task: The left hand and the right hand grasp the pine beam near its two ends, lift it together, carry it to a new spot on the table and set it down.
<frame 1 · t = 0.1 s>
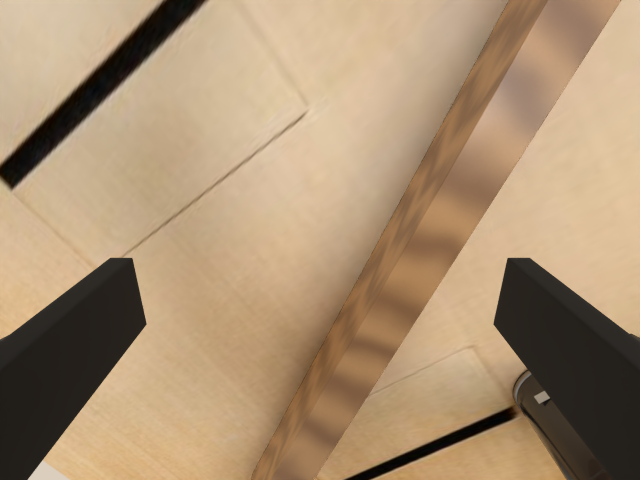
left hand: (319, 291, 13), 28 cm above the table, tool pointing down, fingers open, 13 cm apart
beam: (386, 268, 43), on the table
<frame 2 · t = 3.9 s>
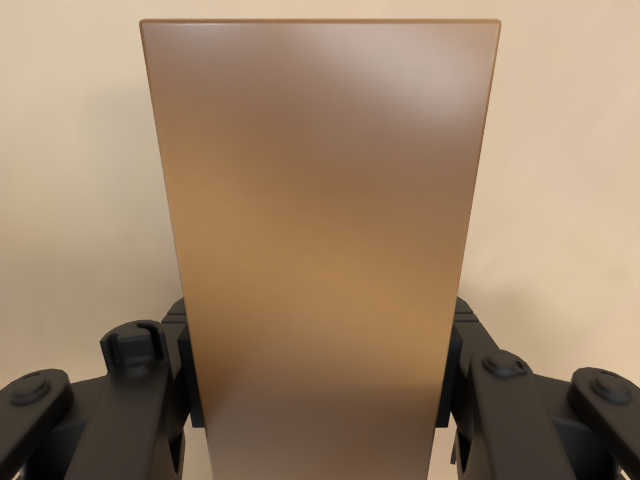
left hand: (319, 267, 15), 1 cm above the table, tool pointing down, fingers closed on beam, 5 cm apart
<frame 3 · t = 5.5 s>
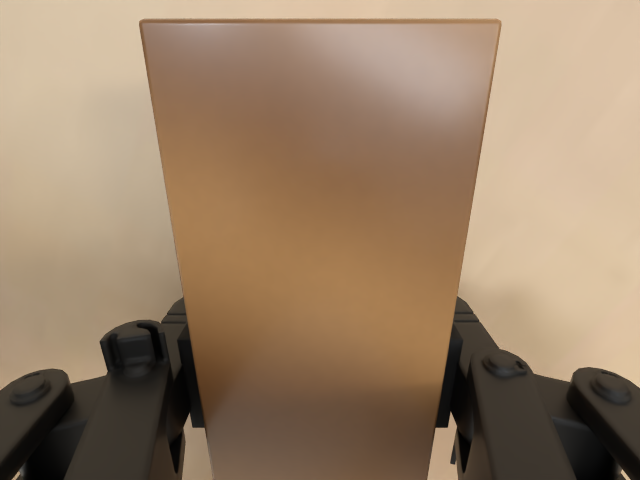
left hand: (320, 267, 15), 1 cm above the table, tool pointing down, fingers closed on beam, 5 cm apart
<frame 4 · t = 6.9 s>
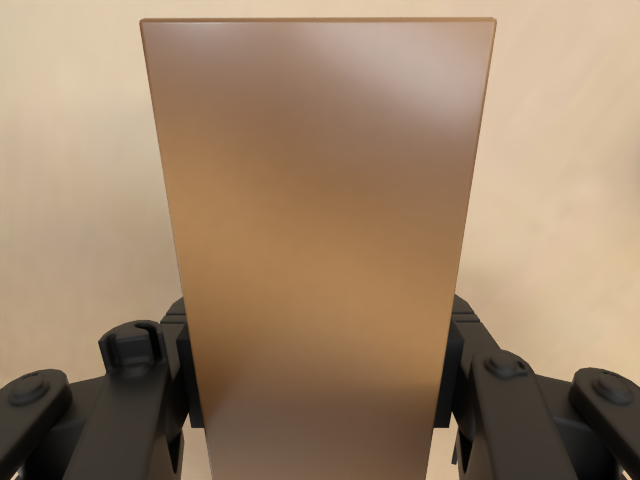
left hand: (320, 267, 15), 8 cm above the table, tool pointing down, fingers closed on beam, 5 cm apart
when the left hand's fingers open (2 cm above the table, at t = 10.4 s): beam drops 1 cm, on the table.
when the right hand's fingers open (5 cm above the table, at t = 10.6 s): beam stays where it is, on the table.
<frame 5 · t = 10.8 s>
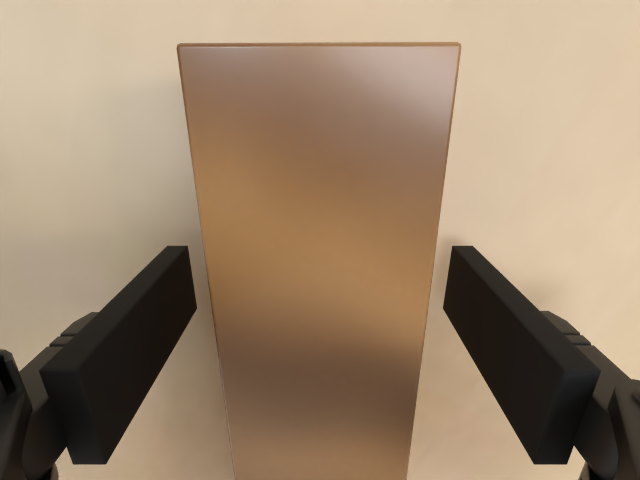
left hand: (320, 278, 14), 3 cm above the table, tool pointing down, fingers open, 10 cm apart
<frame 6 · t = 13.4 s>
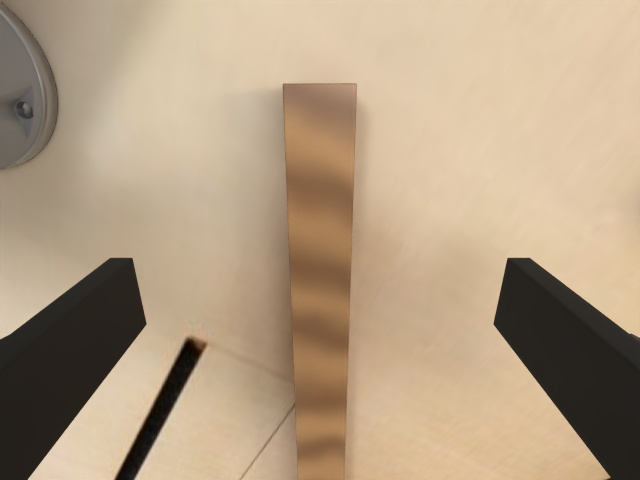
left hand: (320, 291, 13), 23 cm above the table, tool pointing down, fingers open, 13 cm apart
beam: (320, 428, 47), on the table
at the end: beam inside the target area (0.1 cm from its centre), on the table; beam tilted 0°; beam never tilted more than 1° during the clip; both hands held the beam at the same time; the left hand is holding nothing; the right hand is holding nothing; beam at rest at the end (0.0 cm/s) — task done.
